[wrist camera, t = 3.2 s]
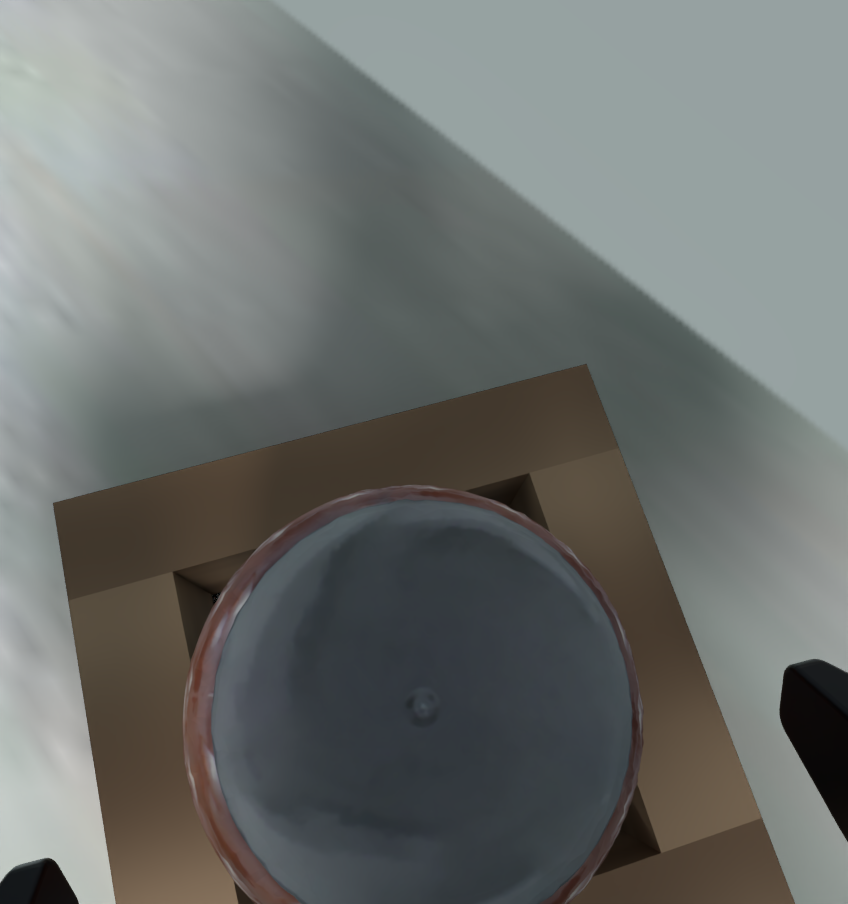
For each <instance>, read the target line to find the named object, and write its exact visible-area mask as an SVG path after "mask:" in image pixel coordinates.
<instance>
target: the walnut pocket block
mask: <svg viewBox="0 0 848 904" xmlns="http://www.w3.org/2000/svg"><path fill="white" fill-rule="evenodd" d="M397 485H398V486H404V485H430V486H438V487H444V488H451V489H456V490H461V491H466V492H469V493H472V494H475V495H479V496H482V497H485V498H488V499H492V500H495V501H498V502H500V503H503V504H505V505H506V506H508V507H509V508H511V509H513V510H515V511H518V512H521V513H523V514H525V515H526V516H527V517H528V518H530V519H532V520H533V521H535V522H536V523H538V524H540V525H541V526H542V527H544V528H545V529H546V530H548V531H549V532H550V533H551V534H552V535H553V536H554V537H555V538H557V539H558V540H559V541H561V542H563V543H564V544H565V545H566V546H568V547H569V548H570V549H571V550H572V551H573V553H574V554H575V555H576V556H577V557H578V558H579V559H580V560H581V561H582V562H583V564H584V565H586V566H587V567H588V568H589V569H590V571H591V573H592V574H593V576H594V577H595V578H596V579H597V581H598V582H599V583H600V585H601V586H602V588H603V589H604V591H605V592H606V594H607V596H608V598H609V600H610V602H611V604H612V605H613V607H614V608H615V610H616V612H617V613H618V617H619V619H620V621H621V625H622V627H623V628H624V630H625V633H626V636H627V639H628V641H629V644H630V646H631V651H632V655H633V658H634V663H635V668H636V673H637V676H638V680H639V689H640V695H641V699H642V704H643V709H644V714H643V733H642V734H643V740H644V744H643V751H642V756H641V763H640V769H639V772H638V783H637V785H636V788H635V790H634V795H633V799H632V801H631V804H630V806H629V810H628V813H627V815H626V817H625V819H624V821H623V823H622V825H621V829H620V832H619V834H618V836H617V837H616V839H615V841H614V843H613V845H612V847H611V848H610V850H609V853H608V855H607V856H606V858H605V860H604V861H603V863H602V864H601V865H600V867H599V868H598V869H597V871H596V872H595V874H594V875H593V877H592V879H591V880H590V881H589V883H588V884H587V885H586V887H585V888H584V889H583V890H582V891H581V892H580V893H579V894H578V895H577V896H576V897H575V898H574V899H573V900H572V902H570V903H569V904H795V902H794V900H793V897H792V895H791V892H790V889H789V887H788V884H787V882H786V879H785V876H784V874H783V871H782V869H781V866H780V864H779V861H778V858H777V856H776V853H775V851H774V848H773V845H772V843H771V840H770V838H769V835H768V832H767V830H766V827H765V825H764V822H763V820H762V817H761V814H760V812H759V809H758V807H757V804H756V801H755V799H754V796H753V794H752V791H751V788H750V786H749V783H748V781H747V778H746V776H745V773H744V770H743V768H742V765H741V763H740V760H739V757H738V755H737V752H736V750H735V747H734V745H733V742H732V739H731V737H730V734H729V732H728V729H727V726H726V724H725V721H724V719H723V716H722V713H721V711H720V708H719V706H718V703H717V701H716V698H715V695H714V693H713V690H712V688H711V685H710V682H709V680H708V677H707V675H706V672H705V669H704V667H703V664H702V662H701V659H700V657H699V654H698V651H697V649H696V646H695V644H694V641H693V638H692V636H691V633H690V631H689V628H688V626H687V623H686V620H685V618H684V615H683V613H682V610H681V607H680V605H679V602H678V600H677V597H676V594H675V592H674V589H673V587H672V584H671V582H670V579H669V576H668V574H667V571H666V569H665V566H664V563H663V561H662V558H661V556H660V553H659V550H658V548H657V545H656V543H655V540H654V538H653V535H652V532H651V530H650V527H649V525H648V522H647V519H646V517H645V514H644V512H643V509H642V507H641V504H640V501H639V499H638V496H637V494H636V491H635V488H634V486H633V483H632V481H631V478H630V475H629V473H628V470H627V468H626V465H625V463H624V460H623V457H622V455H621V452H620V450H619V447H618V444H617V442H616V439H615V437H614V434H613V431H612V429H611V426H610V424H609V421H608V419H607V416H606V413H605V411H604V408H603V406H602V403H601V400H600V398H599V395H598V393H597V390H596V388H595V385H594V382H593V380H592V377H591V375H590V372H589V369H588V367H587V364H584V365H580V366H577V367H573V368H569V369H565V370H561V371H557V372H554V373H550V374H546V375H542V376H538V377H534V378H531V379H527V380H523V381H519V382H515V383H511V384H508V385H504V386H500V387H496V388H492V389H488V390H485V391H481V392H477V393H473V394H469V395H465V396H462V397H458V398H454V399H450V400H446V401H442V402H439V403H435V404H431V405H427V406H423V407H419V408H416V409H412V410H408V411H404V412H400V413H396V414H393V415H389V416H385V417H381V418H377V419H373V420H370V421H366V422H362V423H358V424H354V425H350V426H347V427H343V428H339V429H335V430H331V431H327V432H324V433H320V434H316V435H312V436H308V437H304V438H301V439H297V440H293V441H289V442H285V443H281V444H278V445H274V446H270V447H266V448H262V449H258V450H255V451H251V452H247V453H243V454H239V455H235V456H232V457H228V458H224V459H220V460H216V461H212V462H209V463H205V464H201V465H197V466H193V467H189V468H186V469H182V470H178V471H174V472H170V473H166V474H163V475H159V476H155V477H151V478H147V479H143V480H140V481H136V482H132V483H128V484H124V485H120V486H117V487H113V488H109V489H105V490H101V491H97V492H94V493H90V494H86V495H82V496H78V497H74V498H71V499H67V500H63V501H59V502H55V503H53V506H54V513H55V519H56V526H57V532H58V538H59V545H60V551H61V557H62V564H63V570H64V576H65V583H66V589H67V596H68V602H69V608H70V615H71V621H72V627H73V634H74V640H75V646H76V653H77V659H78V666H79V672H80V678H81V685H82V691H83V697H84V704H85V710H86V717H87V723H88V729H89V736H90V742H91V748H92V755H93V761H94V767H95V774H96V780H97V787H98V793H99V799H100V806H101V812H102V818H103V825H104V831H105V838H106V844H107V850H108V857H109V863H110V869H111V876H112V882H113V888H114V895H115V901H116V904H255V903H254V902H253V901H252V900H251V899H250V898H249V897H248V896H247V895H246V894H245V893H244V892H243V891H242V890H241V888H240V887H239V886H238V885H237V884H236V883H235V882H234V880H233V879H232V877H231V876H230V874H229V873H228V871H227V870H226V868H225V867H224V865H223V864H222V862H221V861H220V859H219V857H218V856H217V854H216V852H215V850H214V849H213V847H212V845H211V843H210V842H209V840H208V838H207V836H206V833H205V831H204V829H203V827H202V825H201V822H200V819H199V817H198V814H197V812H196V809H195V807H194V804H193V800H192V796H191V791H190V786H189V781H188V777H187V773H186V768H185V764H184V755H183V709H184V697H185V689H186V681H187V675H188V671H189V668H190V663H191V659H192V656H193V653H194V651H195V648H196V645H197V642H198V639H199V636H200V634H201V631H202V629H203V626H204V624H205V622H206V620H207V618H208V616H209V614H210V611H211V609H212V607H213V605H214V602H213V598H212V595H213V594H217V593H220V592H222V590H223V589H224V587H225V586H226V585H227V583H228V581H229V580H230V578H231V577H232V576H233V575H234V573H235V572H236V571H237V570H238V569H239V568H240V567H241V566H242V564H243V563H244V562H245V561H246V560H247V559H248V558H249V557H250V555H251V554H252V553H253V552H254V551H255V550H256V549H257V548H258V547H259V546H260V545H261V544H262V543H263V542H264V541H266V540H267V539H268V538H269V537H271V535H272V534H274V533H275V532H277V531H278V530H279V529H281V528H282V527H284V526H285V525H287V524H288V523H290V522H291V521H293V520H295V519H296V518H298V517H300V516H302V515H303V514H305V513H307V512H309V511H311V510H313V509H315V508H317V507H319V506H321V505H323V504H325V503H327V502H330V501H332V500H335V499H337V498H339V497H342V496H347V495H350V494H353V493H355V492H358V491H361V490H367V489H379V488H384V487H388V486H397Z"/></svg>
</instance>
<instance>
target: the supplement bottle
mask: <svg viewBox="0 0 848 904" xmlns="http://www.w3.org/2000/svg"><path fill="white" fill-rule="evenodd" d="M643 714H644V709H643V704H642V699H641V695H640V689H639V680H638V676H637V673H636V668H635V663H634V658H633V655H632V651H631V646H630V644H629V641H628V639H627V636H626V633H625V630H624V628H623V627H622V625H621V621H620V619H619V617H618V613H617V612H616V610H615V608H614V607H613V605H612V604H611V602H610V600H609V598H608V596H607V594H606V592H605V591H604V589H603V588H602V586H601V585H600V583H599V582H598V581H597V579H596V578H595V577H594V576H593V574H592V573H591V571H590V569H589V568H588V567H587V566H586V565H584V564H583V562H582V561H581V560H580V559H579V558H578V557H577V556H576V555H575V554H574V553H573V551H572V550H571V549H570V548H569V547H568V546H566V545H565V544H564V543H563V542H561V541H559V540H558V539H557V538H555V537H554V536H553V535H552V534H551V533H550V532H549V531H548V530H546V529H545V528H544V527H542V526H541V525H540V524H538V523H536V522H535V521H533V520H532V519H530V518H528V517H527V516H526V515H525V514H523V513H521V512H518V511H515V510H513V509H511V508H509V507H508V506H506V505H505V504H503V503H500V502H498V501H495V500H492V499H488V498H485V497H482V496H479V495H475V494H472V493H469V492H466V491H461V490H456V489H451V488H444V487H438V486H430V485H404V486H398V485H397V486H388V487H384V488H379V489H367V490H361V491H358V492H355V493H353V494H350V495H347V496H342V497H339V498H337V499H335V500H332V501H330V502H327V503H325V504H323V505H321V506H319V507H317V508H315V509H313V510H311V511H309V512H307V513H305V514H303V515H302V516H300V517H298V518H296V519H295V520H293V521H291V522H290V523H288V524H287V525H285V526H284V527H282V528H281V529H279V530H278V531H277V532H275V533H274V534H272V535H271V537H269V538H268V539H267V540H266V541H264V542H263V543H262V544H261V545H260V546H259V547H258V548H257V549H256V550H255V551H254V552H253V553H252V554H251V555H250V557H249V558H248V559H247V560H246V561H245V562H244V563H243V564H242V566H241V567H240V568H239V569H238V570H237V571H236V572H235V573H234V575H233V576H232V577H231V578H230V580H229V581H228V583H227V585H226V586H225V587H224V589H223V590H222V592H221V594H220V596H219V598H218V600H217V601H216V603H215V604H214V605H213V607H212V609H211V611H210V614H209V616H208V618H207V620H206V622H205V624H204V626H203V629H202V631H201V634H200V636H199V639H198V642H197V645H196V648H195V651H194V653H193V656H192V659H191V663H190V668H189V671H188V675H187V681H186V689H185V697H184V709H183V755H184V764H185V768H186V773H187V777H188V781H189V786H190V791H191V796H192V800H193V804H194V807H195V809H196V812H197V814H198V817H199V819H200V822H201V825H202V827H203V829H204V831H205V833H206V836H207V838H208V840H209V842H210V843H211V845H212V847H213V849H214V850H215V852H216V854H217V856H218V857H219V859H220V861H221V862H222V864H223V865H224V867H225V868H226V870H227V871H228V873H229V874H230V876H231V877H232V879H233V880H234V882H235V883H236V884H237V885H238V886H239V887H240V888H241V890H242V891H243V892H244V893H245V894H246V895H247V896H248V897H249V898H250V899H251V900H252V901H253V902H254V903H255V904H569V903H570V902H572V900H573V899H574V898H575V897H576V896H577V895H578V894H579V893H580V892H581V891H582V890H583V889H584V888H585V887H586V885H587V884H588V883H589V881H590V880H591V879H592V877H593V875H594V874H595V872H596V871H597V869H598V868H599V867H600V865H601V864H602V863H603V861H604V860H605V858H606V856H607V855H608V853H609V850H610V848H611V847H612V845H613V843H614V841H615V839H616V837H617V836H618V834H619V832H620V829H621V825H622V823H623V821H624V819H625V817H626V815H627V813H628V810H629V806H630V804H631V801H632V799H633V795H634V790H635V788H636V785H637V783H638V772H639V769H640V763H641V756H642V751H643V744H644V740H643V734H642V733H643Z"/></svg>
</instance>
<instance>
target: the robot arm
mask: <svg viewBox="0 0 848 904" xmlns="http://www.w3.org/2000/svg"><path fill="white" fill-rule="evenodd" d="M780 719H781V723H782V725H783V728H784V730H785V732H786V734H787V736H788V737H789V739H790V741H791V743H792V745H793V746H794V748H795V750H796V752H797V753H798V755H799V757H800V759H801V761H802V762H803V764H804V766H805V768H806V769H807V771H808V773H809V775H810V777H811V778H812V780H813V782H814V784H815V786H816V787H817V789H818V791H819V793H820V794H821V796H822V798H823V800H824V802H825V803H826V805H827V807H828V809H829V810H830V812H831V814H832V816H833V818H834V819H835V821H836V823H837V825H838V826H839V828H840V830H841V831H842V833H843V835H844V837H845V838H846V840H847V842H848V673H847V672H845V671H843V670H841V669H839V668H837V667H835V666H833V665H831V664H829V663H827V662H825V661H823V660H819V659H811V660H807V661H803V662H799V663H796V664H792V665H789V666H788V667H787V668H786V670H785V671H784V676H783V685H782V693H781V701H780ZM0 904H79V903H78V900H77V897H76V895H75V894H74V892H73V890H72V888H71V887H70V885H69V883H68V882H67V880H66V878H65V876H64V875H63V873H62V871H61V870H60V868H59V866H58V865H57V863H56V862H55V861H54V860H52V859H50V858H44V859H40V860H36V861H32V862H28V863H24V864H21V865H18V866H16V867H14V868H13V869H12V870H11V871H9V872H8V873H7V875H6V876H5V877H4V878H3V880H2V881H1V883H0Z"/></svg>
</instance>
